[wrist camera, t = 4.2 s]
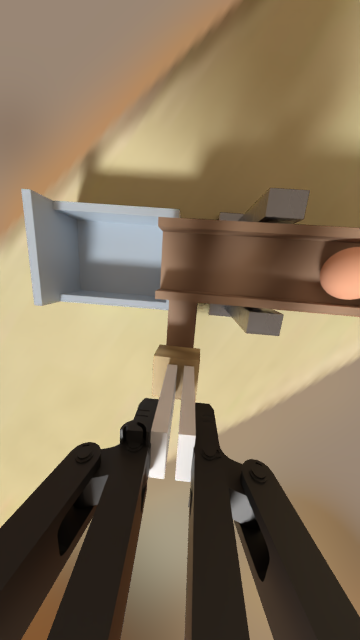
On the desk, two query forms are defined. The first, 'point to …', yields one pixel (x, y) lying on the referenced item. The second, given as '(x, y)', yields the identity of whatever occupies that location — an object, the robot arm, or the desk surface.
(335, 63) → the desk surface
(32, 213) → the bin
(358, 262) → the ball
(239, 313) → the fulcrum
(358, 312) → the lever
